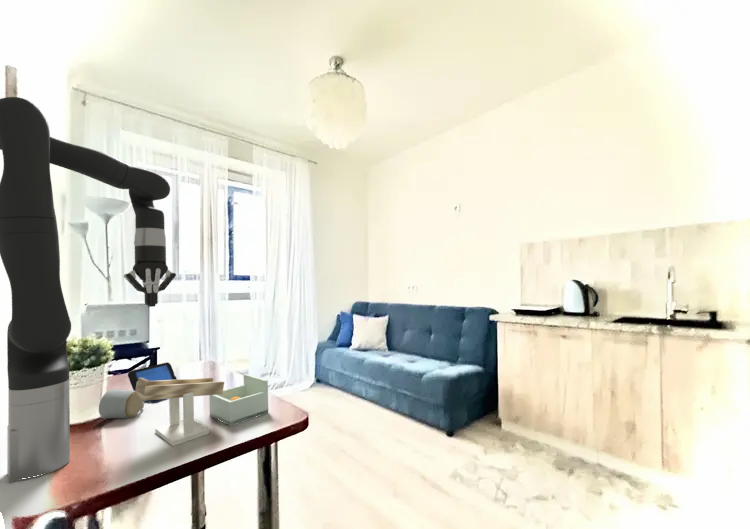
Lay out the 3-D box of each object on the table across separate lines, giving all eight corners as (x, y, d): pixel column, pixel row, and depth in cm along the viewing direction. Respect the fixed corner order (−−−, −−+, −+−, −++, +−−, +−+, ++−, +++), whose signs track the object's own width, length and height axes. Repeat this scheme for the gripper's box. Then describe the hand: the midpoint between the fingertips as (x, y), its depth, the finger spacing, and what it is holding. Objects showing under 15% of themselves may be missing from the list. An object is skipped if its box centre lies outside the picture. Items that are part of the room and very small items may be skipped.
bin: (230, 426, 91) (229, 390, 91) (209, 415, 99) (209, 382, 99) (268, 412, 99) (267, 380, 99) (246, 404, 107) (246, 374, 107)
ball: (248, 404, 99) (237, 416, 96) (241, 401, 102) (230, 413, 99) (240, 395, 97) (229, 407, 95) (233, 392, 100) (222, 404, 98)
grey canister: (127, 421, 97) (127, 393, 97) (97, 422, 97) (97, 394, 97) (152, 408, 107) (152, 382, 108) (125, 409, 107) (125, 383, 108)
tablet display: (154, 404, 111) (154, 374, 112) (126, 400, 116) (125, 372, 117) (196, 389, 126) (195, 362, 126) (169, 386, 131) (169, 361, 131)
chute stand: (172, 446, 81) (172, 399, 81) (155, 432, 89) (154, 390, 89) (208, 433, 87) (207, 390, 87) (189, 422, 95) (188, 382, 95)
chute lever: (143, 400, 79) (147, 382, 80) (124, 388, 90) (127, 371, 90) (222, 393, 92) (224, 378, 93) (197, 383, 103) (199, 369, 104)
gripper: (126, 243, 93) (127, 308, 93) (180, 245, 103) (181, 304, 103) (119, 245, 98) (119, 308, 98) (171, 247, 108) (172, 304, 108)
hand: (151, 306), depth 100 cm, fingers closed
